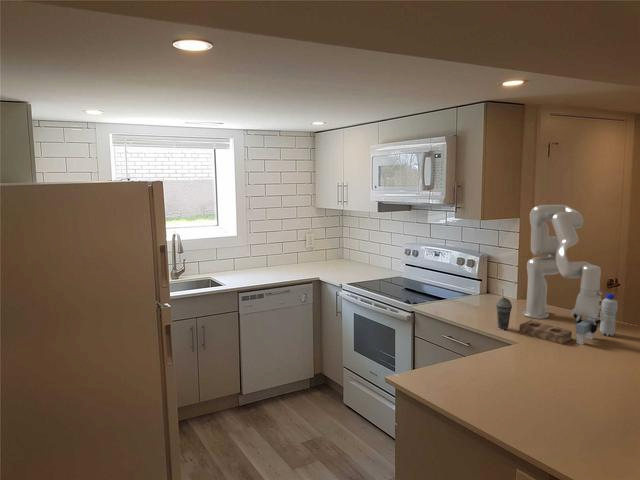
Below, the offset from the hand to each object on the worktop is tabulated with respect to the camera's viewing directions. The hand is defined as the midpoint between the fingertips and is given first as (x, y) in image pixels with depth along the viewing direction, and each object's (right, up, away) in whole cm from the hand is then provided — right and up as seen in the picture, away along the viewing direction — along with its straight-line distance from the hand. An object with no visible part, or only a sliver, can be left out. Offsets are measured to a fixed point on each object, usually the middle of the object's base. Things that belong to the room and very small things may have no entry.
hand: (586, 330), depth 217 cm
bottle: (+14, -4, +8) cm, 17 cm away
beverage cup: (-31, -3, +18) cm, 36 cm away
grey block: (0, -5, +1) cm, 5 cm away
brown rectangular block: (-16, -4, +8) cm, 18 cm away
